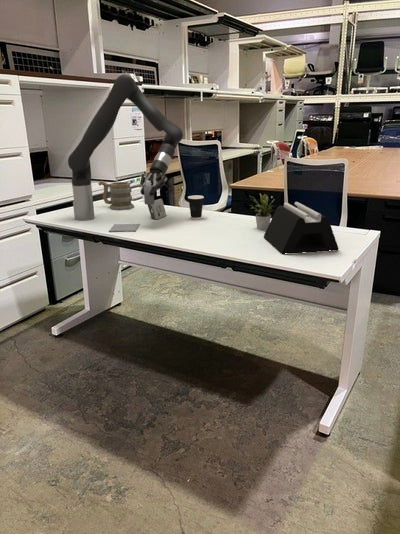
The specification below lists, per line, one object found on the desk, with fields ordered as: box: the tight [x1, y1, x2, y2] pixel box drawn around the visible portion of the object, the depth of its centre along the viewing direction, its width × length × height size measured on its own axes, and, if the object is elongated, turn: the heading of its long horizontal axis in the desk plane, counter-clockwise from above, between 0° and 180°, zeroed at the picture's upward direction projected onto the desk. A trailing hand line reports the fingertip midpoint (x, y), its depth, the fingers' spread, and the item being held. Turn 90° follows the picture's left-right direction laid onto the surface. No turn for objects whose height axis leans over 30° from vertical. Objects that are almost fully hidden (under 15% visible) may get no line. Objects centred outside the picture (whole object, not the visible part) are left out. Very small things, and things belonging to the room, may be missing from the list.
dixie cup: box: [187, 195, 205, 221], centre depth 208 cm, size 8×8×11 cm
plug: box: [143, 181, 155, 206], centre depth 190 cm, size 4×4×10 cm
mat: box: [108, 223, 140, 233], centre depth 194 cm, size 12×12×1 cm
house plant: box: [249, 193, 276, 231], centre depth 188 cm, size 14×14×16 cm
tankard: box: [98, 180, 135, 211], centre depth 236 cm, size 20×13×15 cm, turn 69°
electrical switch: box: [147, 198, 167, 221], centre depth 212 cm, size 9×5×9 cm, turn 152°
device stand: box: [263, 201, 339, 255], centre depth 164 cm, size 22×22×15 cm
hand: (146, 194), depth 189 cm, fingers closed on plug, 4 cm apart
